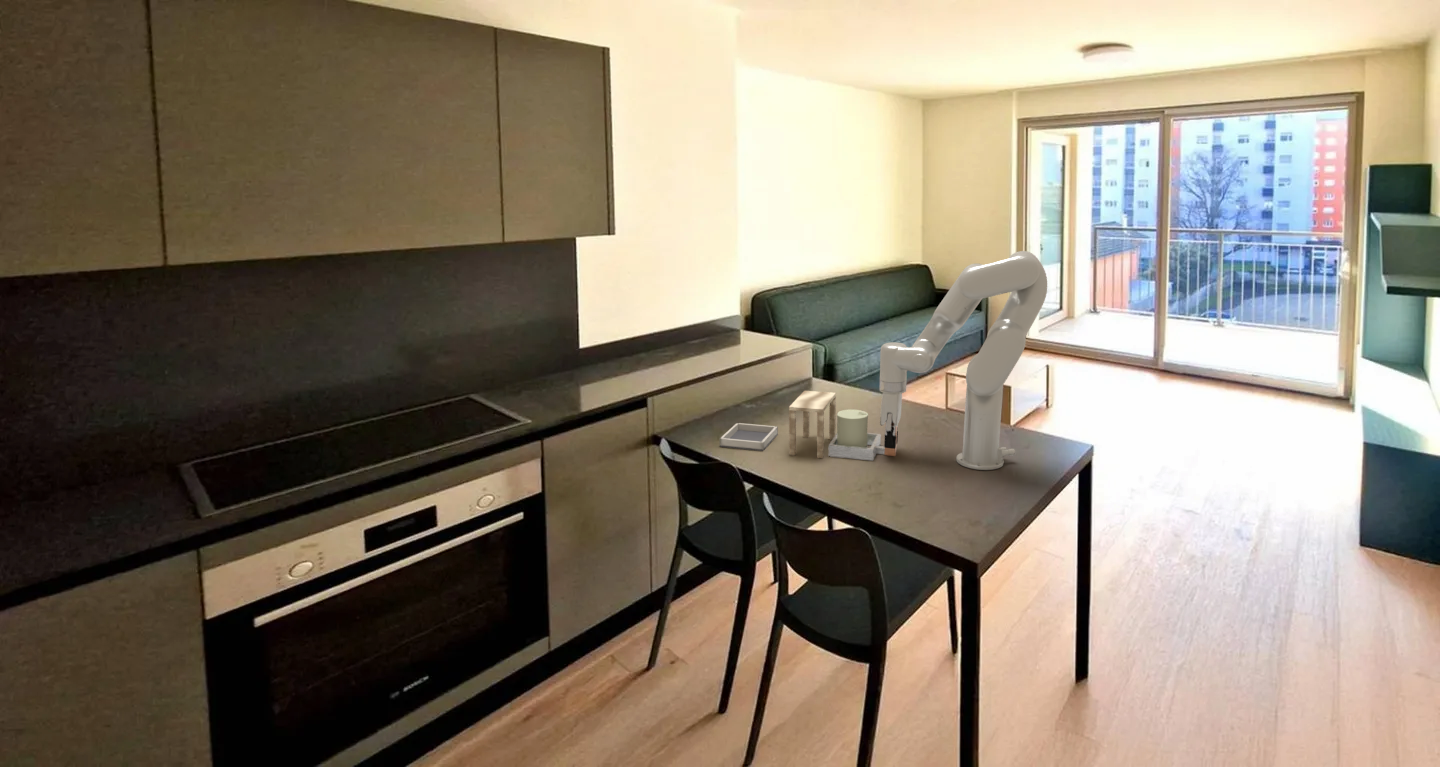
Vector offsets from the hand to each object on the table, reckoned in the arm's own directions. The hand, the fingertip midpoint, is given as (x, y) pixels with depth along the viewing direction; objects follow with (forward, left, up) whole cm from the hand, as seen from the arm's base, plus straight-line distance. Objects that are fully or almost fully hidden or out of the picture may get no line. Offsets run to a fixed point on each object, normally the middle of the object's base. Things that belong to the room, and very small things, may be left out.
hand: (890, 445), depth 218 cm
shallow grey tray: (+7, -4, -3) cm, 8 cm away
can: (+10, -5, -3) cm, 12 cm away
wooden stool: (+21, -11, -3) cm, 24 cm away
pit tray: (+39, -20, -3) cm, 44 cm away
